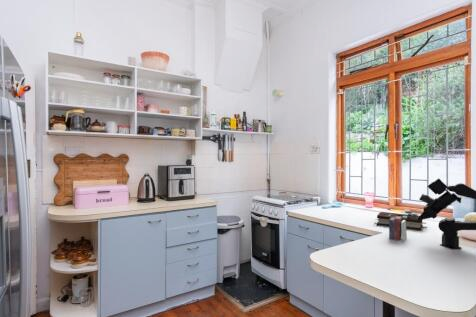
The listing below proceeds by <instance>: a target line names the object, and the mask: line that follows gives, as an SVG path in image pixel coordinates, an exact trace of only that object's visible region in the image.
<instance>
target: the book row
mask: <svg viewBox="0 0 476 317" xmlns="http://www.w3.org/2000/svg"><path fill="white" fill-rule="evenodd" d="M401 222H402V217H401V216H396V217H395V218H394V217H391V218H390V219H389V226H388V228H389V229H388V240H395V241H400V240H402V229H401Z"/></svg>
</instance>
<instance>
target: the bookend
mask: <svg viewBox="0 0 476 317" xmlns="http://www.w3.org/2000/svg"><path fill="white" fill-rule="evenodd" d="M401 229H402V238H401V241H402V242H405V241H406V240H407V239H408V236H407V229H406V220H403V221H402V222H401Z"/></svg>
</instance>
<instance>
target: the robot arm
mask: <svg viewBox="0 0 476 317" xmlns="http://www.w3.org/2000/svg"><path fill="white" fill-rule="evenodd" d="M426 187H427V188H428V189H429V190H430V191H431V192H433V193H434V194H435V195H439V196H438V197H436V198H432V197H430V195H427V194H425V193H422V194H421V196H420V198H419V201H420V202H424V203H425V206H424V207H423V211H422V213H421V214H420V215H418V216H419V217H418V218H417V220H422V221H423V220H427V219H431V218H432V219H433V220H434V219H436V218H438V214H440V212H442V211H443V210H445V209H447V208H448V207H449V206H451V205H452V204H453V203H455V202H458V203H459V204H461V203H462V197H463V198H464V197H465V198H469V199H473V200H476V190H475V189H474V188H472V187H471V186H468V185H467V184H465V183H462V182H461V183H460V182H459V183H456V184H455V185H447V184H445V183H444V182H443V181H442V180H441V178H437V179H436V180H435V181H432V182H431V183H429V184H428V185H427V186H426ZM438 229H439V231H441V232H442V233H441V244H439V246H441V247H443V248H447V249H451V250H457V249H458V250H459V249H462V247H461V246H460V236H459V231H460V232H461V231H476V221H460V220H459V221H458V220H456V217H450V218H448V217H445V218H443V219H441V220H439V222H438Z"/></svg>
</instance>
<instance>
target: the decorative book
mask: <svg viewBox="0 0 476 317" xmlns="http://www.w3.org/2000/svg"><path fill="white" fill-rule="evenodd" d="M396 216H401V217H402V221H403V220H406V230H414V231H422V230H423V224H424V225H427V222H423V220H417V218H418V217H419V216H420V215H418V214H415V213H397V212H387V211H386V212H385V211H380V212H379V213H378V214H377V215H376V218H375V220H377V223H376V226H381V227H389V219H390V218H391V217H394V218H395V217H396Z"/></svg>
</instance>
